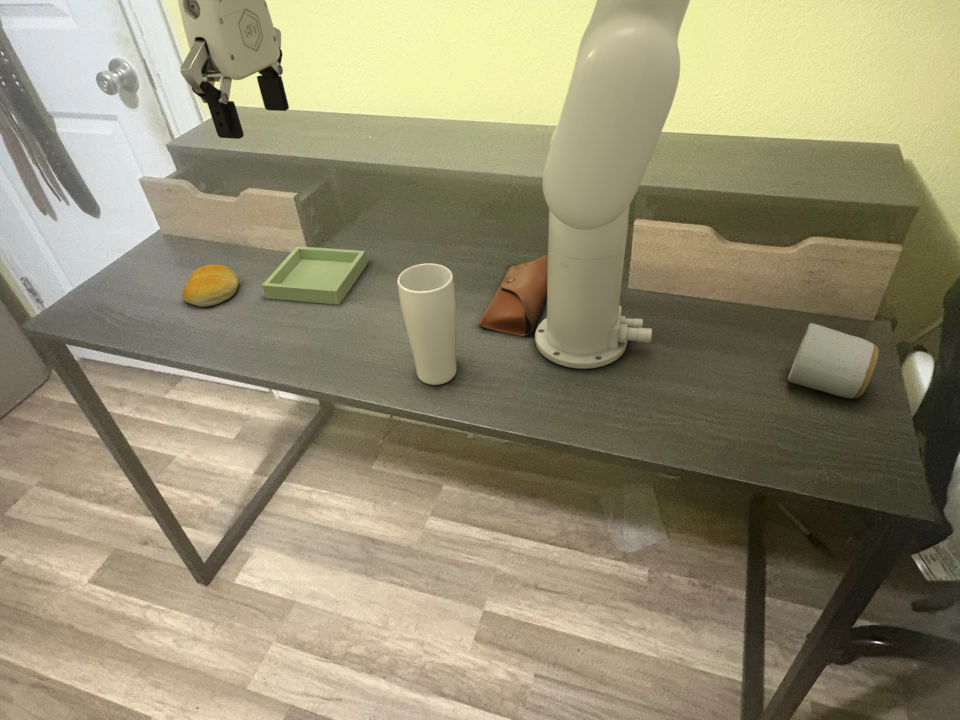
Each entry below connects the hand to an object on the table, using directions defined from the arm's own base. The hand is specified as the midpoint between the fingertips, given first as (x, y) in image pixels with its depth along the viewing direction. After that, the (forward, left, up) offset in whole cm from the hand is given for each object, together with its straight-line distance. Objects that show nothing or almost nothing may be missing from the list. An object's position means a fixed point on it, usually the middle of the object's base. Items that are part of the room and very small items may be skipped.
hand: (255, 122), depth 76 cm
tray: (+4, -12, -30) cm, 32 cm away
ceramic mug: (-71, +1, -30) cm, 77 cm away
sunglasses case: (-30, -11, -30) cm, 44 cm away
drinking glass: (-22, +8, -30) cm, 38 cm away
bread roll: (+20, -6, -30) cm, 36 cm away
